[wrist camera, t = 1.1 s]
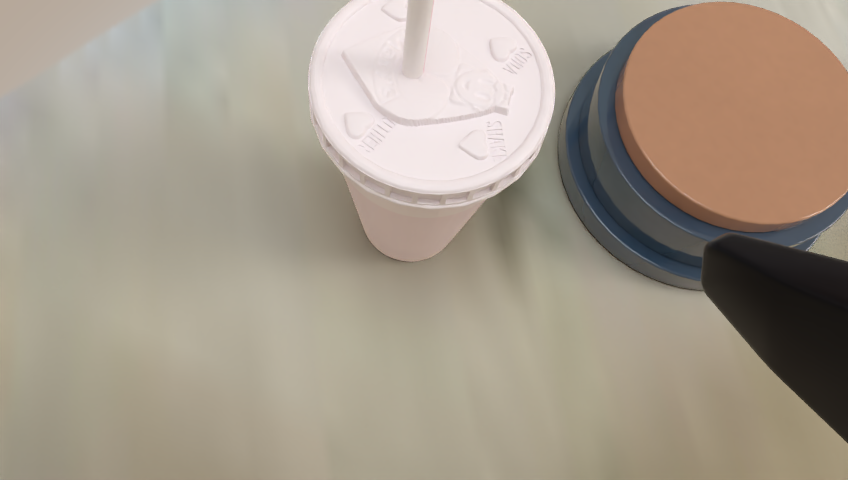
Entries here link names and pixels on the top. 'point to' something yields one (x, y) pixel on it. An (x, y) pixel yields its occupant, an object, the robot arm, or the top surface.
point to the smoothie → (428, 112)
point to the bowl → (707, 138)
